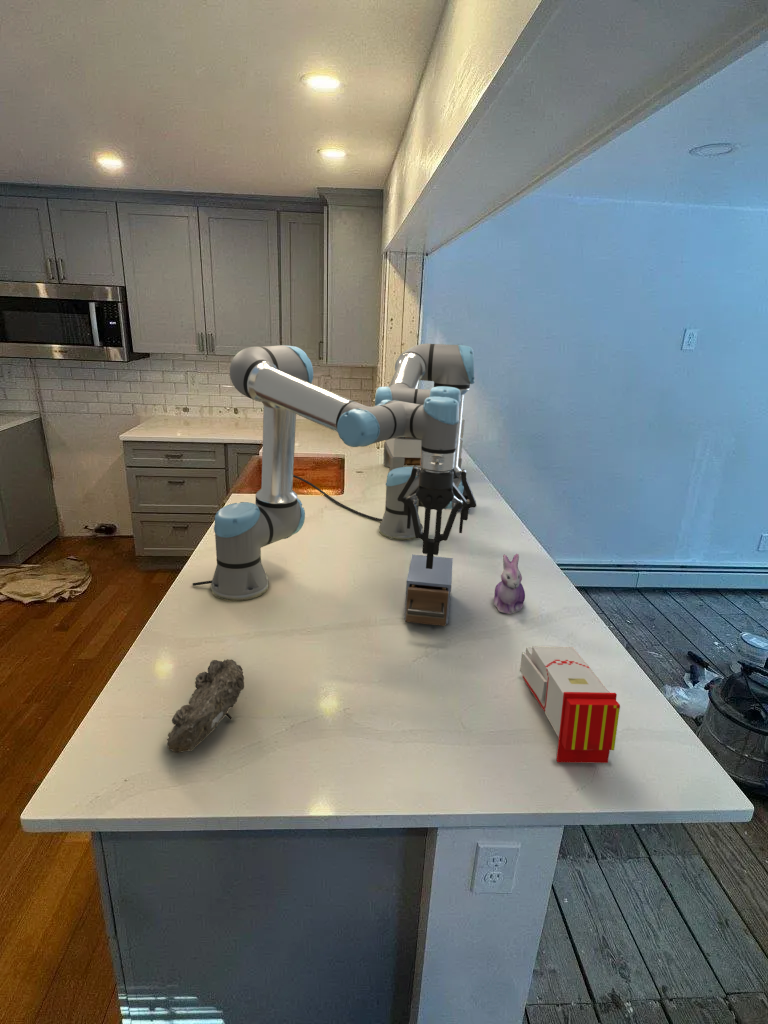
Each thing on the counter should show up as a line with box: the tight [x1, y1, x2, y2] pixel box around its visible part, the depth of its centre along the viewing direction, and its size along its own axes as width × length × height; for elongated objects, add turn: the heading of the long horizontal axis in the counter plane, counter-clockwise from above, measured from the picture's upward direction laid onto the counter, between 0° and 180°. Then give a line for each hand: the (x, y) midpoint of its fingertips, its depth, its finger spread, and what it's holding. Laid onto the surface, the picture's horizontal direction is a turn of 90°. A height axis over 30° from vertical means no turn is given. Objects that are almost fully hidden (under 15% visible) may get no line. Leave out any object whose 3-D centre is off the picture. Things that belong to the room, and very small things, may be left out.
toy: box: [519, 645, 621, 764], centre depth 112 cm, size 12×13×30 cm
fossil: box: [166, 658, 245, 754], centre depth 106 cm, size 22×10×15 cm
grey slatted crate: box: [383, 418, 465, 472], centre depth 268 cm, size 34×33×41 cm
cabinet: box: [403, 553, 454, 625], centre depth 150 cm, size 16×11×11 cm
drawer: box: [405, 584, 449, 627], centre depth 144 cm, size 21×10×9 cm, turn 172°
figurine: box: [493, 553, 526, 615], centre depth 151 cm, size 9×10×15 cm
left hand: (429, 566), depth 133 cm, fingers closed
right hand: (434, 529), depth 149 cm, fingers open, 13 cm apart
